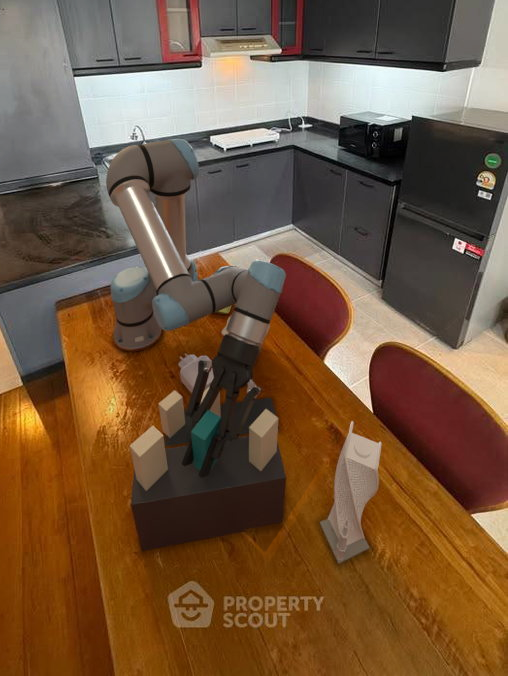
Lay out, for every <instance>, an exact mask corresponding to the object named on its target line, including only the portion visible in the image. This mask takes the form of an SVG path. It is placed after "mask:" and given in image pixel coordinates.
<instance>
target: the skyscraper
mask: <svg viewBox="0 0 508 676" xmlns="http://www.w3.org/2000/svg"><path fill="white" fill-rule="evenodd" d="M354 423H355V422H354V420H351V421H350V425H349V428H348V432H347V435H346V438H345V441H344V443H343V446H342V448H341V451H340V453H339V457H338V460H337V464H336V469H335V474H334V485H333V499H334V501H333V504H332V506H331V509H330V512H329V514H328V517H327V518H325V519H324V520H321V521H320V522H319V525H320V528H321V530H322V532H323V534H324V536H325V539H326V540H327V543H328V545H329V547H330V549H331V552H332V554H333V556H334V558H335V561H336V563H337V564H338V565H340V564H342V563H344V562H346V561H348V560H350V559H352V558H354V557H356V556H358V555H360V554H362V553H364V552H366V551H368V550H369V549H370V546H369V543H368V542H367V539H366V538H365V535H364V531H363V527H362V516H363V512H364V509H365V507H366V505H367V503H368V501H370V500H371V499H372V498H373V497H374V496H375V495H376V494H377V492H378V489H379V487H380V486H379V485H380V479H379V471H378V470H379V464H380V458H381V451H382V445H383V443H382V441H380V440H379V442H376V441H374V440H371V439H369V438H367V437H364V436H362V435H359V434H356V433H354V432H353V430H354Z"/></svg>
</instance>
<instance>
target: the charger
mask: <svg viewBox="0 0 508 676" xmlns="http://www.w3.org/2000/svg"><path fill="white" fill-rule="evenodd" d="M184 356H185V357H184V358H183V357H182V356H181V355H180V356H179V359H180V361H179V362H178V364H177V365H178V366H179V368H180V372H179V376H180V382H181V383H182V384H183V385H184V386H185V388H186V389H187V390H188V391H189V392H190V395H191V394H192V391H193V388H194V385H195V381H196V378H197V375H198V362H199V361H200V360H204V361H212V360H211V358H210V357H209V356H207V355H200V356H198V357H197V356H196V355H195V354H187V352H186V353H184ZM213 378H214V375H213V369H211V371H210V372H209V377H208V380H207V383H206V387H205V390H206V389H207V388H209V387H210V384H211V382H212V380H213ZM205 390H204V391H205Z"/></svg>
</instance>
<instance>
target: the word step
mask: <svg viewBox="0 0 508 676" xmlns="http://www.w3.org/2000/svg"><path fill="white" fill-rule="evenodd" d="M278 426H279V417H278V416H277V415H276V416H275V415H274V414H272V413H271V412H270V411H268V410H267V409H265V410H264V411H263V413H262V414H261V415H260V416H259V417H258V418H257V419H256V420H255V421H254V422H253V424H252V425H251V426H250V427H249V434H248V435H246V436H245V435H244V436H239V437H238V439H236V440H233V441H229V440H227V441H226V443H225V446H224V448H223V452H222V454H221V456H220V457H219V458H218V460H217V461H216V463H215V464H214V466H213V467H212V469H211V471H210V473H209V475H207V476H205V477H203V478H201V477H199V476H198V475H199V472H200V470H199V469H197V468H196V467H194V460H193V462H192V464H190V465H187V466H183V465H182V461H183V459H184V456H185V453H186V451H187V448H188V445H189V444H188V445H187V444H186V445H182V446H181V445H180V446H175V447H167V448H166V446H165V439H164V435H163V434H162V433H161V431H160V430H158V429H157V428H156V427H155V426H154V425H151V426H150V427H149V428H147V430H146V431H145V432H143V433H142V434H141V435H139V437H138V438H137V439H135V440H134V441H133V442H132V443H131V444H130V445H129V449H130V454H131V458H132V464H133V468H134V469H133V476H132V477H133V479H132V486H131V487H132V488H131V498H130V507H131V512H132V517H133V521H134V525H135V529H136V533H137V538H138V541H139V547H140V550H141V552H144V551H150V550H155V549H160V548H165V547H172V546H176V545H182V544H187V543H191V542H196V541H201V540H208V539H213V538H217V537H222V536H223V537H224V536H228V535H233V534H239V533H244V532H246V530H249V529H255V528H260V527H266V526H271V525H275V524H282V523H283V522H284V512H285V511H284V509H285V498H286V484H287V476H286V475H287V474H286V471H285V467H284V463H283V459H282V455H281V454H282V453H281V450H280V446H279V442H278V434H279V429H278Z"/></svg>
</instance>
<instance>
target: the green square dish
mask: <svg viewBox="0 0 508 676" xmlns="http://www.w3.org/2000/svg"><path fill="white" fill-rule="evenodd" d="M232 306H233V305H231V306H229V307H227V308H224V309H222V310H220V311H217V312H215V313H214V314H221V315H228V314H230V311H231V309H232Z"/></svg>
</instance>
